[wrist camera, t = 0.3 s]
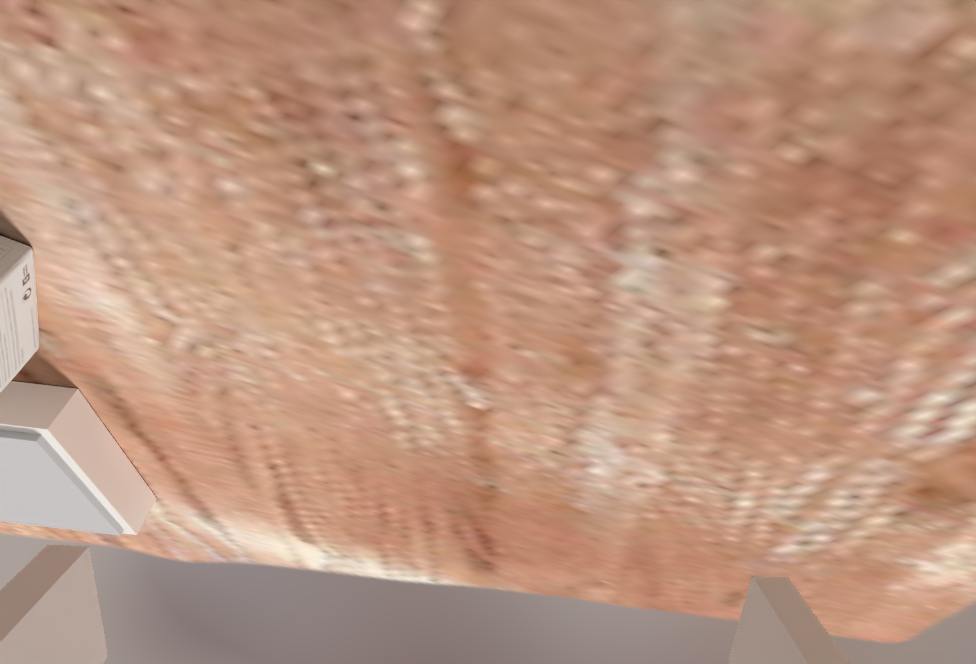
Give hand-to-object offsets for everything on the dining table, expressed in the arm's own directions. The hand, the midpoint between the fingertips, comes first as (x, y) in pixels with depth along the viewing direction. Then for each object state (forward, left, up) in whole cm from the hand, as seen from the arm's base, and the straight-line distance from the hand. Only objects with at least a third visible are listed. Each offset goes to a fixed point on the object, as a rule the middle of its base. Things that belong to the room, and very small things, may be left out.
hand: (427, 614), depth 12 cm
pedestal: (+19, -27, -13) cm, 36 cm away
